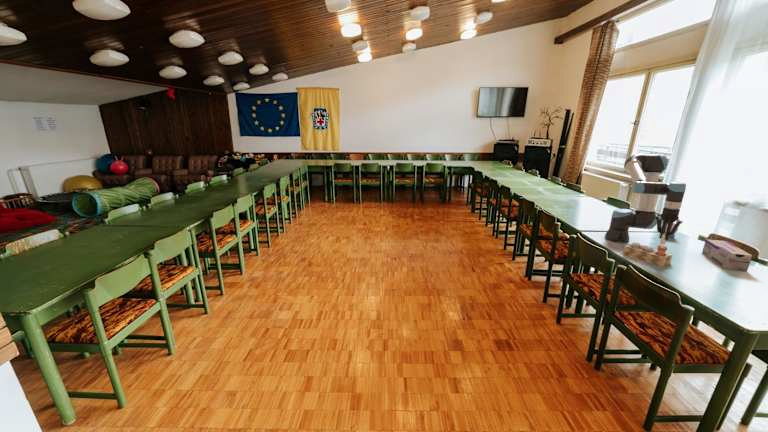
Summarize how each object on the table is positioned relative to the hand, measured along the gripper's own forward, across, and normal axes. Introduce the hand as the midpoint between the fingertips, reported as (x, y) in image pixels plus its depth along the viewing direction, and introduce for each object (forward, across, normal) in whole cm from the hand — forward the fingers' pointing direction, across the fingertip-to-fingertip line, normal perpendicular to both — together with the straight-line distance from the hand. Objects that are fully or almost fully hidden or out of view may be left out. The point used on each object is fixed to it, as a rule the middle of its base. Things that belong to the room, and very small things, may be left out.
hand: (662, 244), depth 196 cm
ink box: (+12, -21, +62) cm, 67 cm away
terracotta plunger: (+9, 0, 0) cm, 9 cm away
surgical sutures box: (+13, +19, +37) cm, 43 cm away
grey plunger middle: (+12, -7, 0) cm, 14 cm away
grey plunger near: (+12, -14, 0) cm, 18 cm away
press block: (+13, -7, 0) cm, 14 cm away
